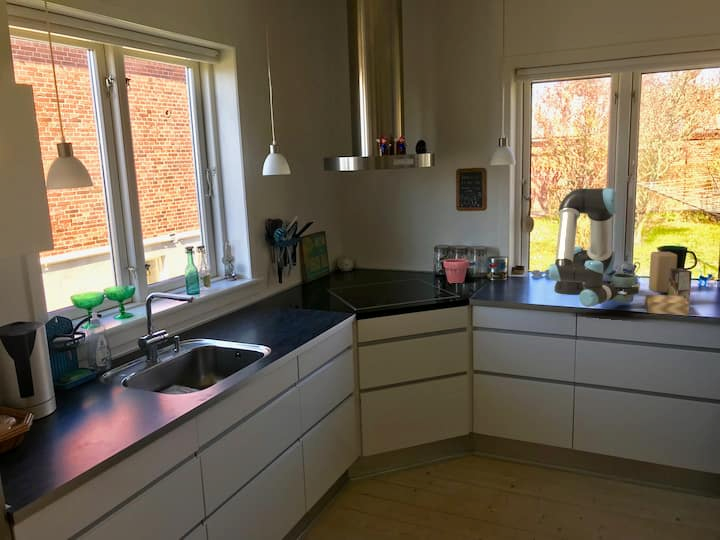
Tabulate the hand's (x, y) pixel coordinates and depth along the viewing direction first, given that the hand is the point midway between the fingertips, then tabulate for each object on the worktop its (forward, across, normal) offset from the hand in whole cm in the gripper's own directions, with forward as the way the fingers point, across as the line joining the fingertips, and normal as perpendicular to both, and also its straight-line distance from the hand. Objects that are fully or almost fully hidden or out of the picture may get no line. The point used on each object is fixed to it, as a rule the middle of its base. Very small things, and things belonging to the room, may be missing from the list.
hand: (628, 285), depth 282 cm
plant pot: (-14, -94, -10) cm, 96 cm away
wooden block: (+42, -3, -10) cm, 44 cm away
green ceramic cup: (-4, 0, -7) cm, 8 cm away
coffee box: (+21, +14, -10) cm, 27 cm away
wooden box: (+4, +16, -10) cm, 19 cm away
